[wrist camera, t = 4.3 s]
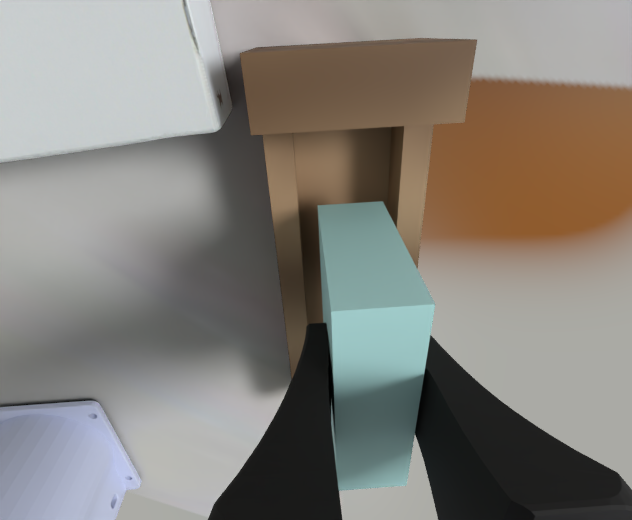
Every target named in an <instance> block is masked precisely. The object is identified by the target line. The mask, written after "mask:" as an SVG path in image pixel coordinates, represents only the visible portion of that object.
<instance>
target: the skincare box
mask: <svg viewBox="0 0 632 520" xmlns="http://www.w3.org/2000/svg"><path fill="white" fill-rule="evenodd" d="M231 110H232V102H231V97H230V92H229V87H228V82H227V78H226V73H225V68H224V63H223V58H222V53H221V49H220V44H219V40H218V35H217V30H216V26H215V21H214V17H213V12H212V8H211V3H210V0H0V163H4V162H11V161H18V160H25V159H33V158H40V157H47V156H54V155H61V154H67V153H75V152H82V151H89V150H95V149H102V148H109V147H115V146H122V145H128V144H135V143H141V142H147V141H153V140H158V139H163V138H170V137H176V136H186V135H196V134H206V133H213V132H216V131H218V130H219V129H221V127H222V126H223V125H224V123H225V122H226V120H227V118H228V116H229V115H230V113H231Z"/></svg>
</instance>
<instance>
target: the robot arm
mask: <svg viewBox="0 0 632 520" xmlns="http://www.w3.org/2000/svg"><path fill="white" fill-rule="evenodd" d="M415 435H416V437H417V440H418V443H419V446H420V449H421V452H422V456H423V459H424V462H425V466H426V470H427V474H428V478H429V482H430V486H431V490H432V494H433V499H434V503H435V507H436V511H437V516H438V520H632V490H631V488H630V487H629V486H628V485H627V484H626V482H625V481H624V480H623V479H622V478H621V476H620V475H619V474H618V473H617V472H615V471H613V470H611V469H609V468H607V467H606V466H604V465H602V464H600V463H598V462H597V461H594V460H593V459H591V458H589V457H587V456H585V455H583V454H581V453H580V452H578V451H576V450H574V449H573V448H571V447H569V446H567V445H566V444H564V443H563V442H561V441H559V440H557V439H556V438H554V437H553V436H551V435H549V434H548V433H546V432H545V431H543V430H542V429H540V428H538V427H537V426H535V425H534V424H532V423H531V422H529V421H528V420H527V419H525V418H523V417H522V416H521V415H519V414H518V413H516V412H515V411H513V410H512V409H511V408H509V407H508V406H507V405H505V404H504V403H503V402H501V401H500V400H499V399H498V398H496V397H495V396H494V395H492V394H491V393H490V392H489V391H488V390H487V389H485V388H484V387H483V386H482V385H480V384H479V383H478V382H477V381H476V380H475V379H474V378H473V377H472V376H471V375H470V374H468V373H467V372H466V371H465V370H464V369H463V368H462V367H461V366H460V365H459V364H458V363H457V362H456V361H455V360H454V359H453V358H452V357H451V356H450V355H449V354H448V353H447V352H446V351H445V350H444V349H443V348H442V347H441V346H440V345H439V344H438V343H437V341H436V340H435V339H434V338H433V337H432V336H431V335H430V341H429V347H428V353H427V359H426V366H425V372H424V378H423V385H422V391H421V397H420V403H419V410H418V416H417V422H416V429H415ZM140 485H141V479H140V477H139V475H138V473H137V472H136V470H135V468H134V466H133V464H132V462H131V460H130V459H129V457H128V455H127V453H126V451H125V449H124V448H123V446H122V444H121V442H120V440H119V438H118V437H117V435H116V433H115V431H114V429H113V427H112V425H111V424H110V422H109V420H108V418H107V416H106V414H105V413H104V411H103V409H102V407H101V405H100V404H99V403H98V402H96V401H77V402H63V403H50V404H36V405H23V406H9V407H0V520H116V517H117V514H118V511H119V509H120V506H121V503H122V501H123V498H124V495H125V493H126V490H130V489H137V488H139V487H140ZM208 520H342V514H341V505H340V497H339V489H338V480H337V471H336V462H335V453H334V444H333V435H332V426H331V381H330V356H329V339H328V331H327V324H326V323H312V324H309V325H307V326H306V335H305V341H304V345H303V349H302V352H301V356H300V359H299V362H298V365H297V368H296V370H295V373H294V376H293V378H292V380H291V383H290V385H289V388H288V390H287V392H286V395H285V397H284V399H283V401H282V403H281V405H280V407H279V409H278V411H277V413H276V415H275V417H274V418H273V420H272V422H271V424H270V425H269V427H268V429H267V431H266V432H265V434H264V436H263V437H262V439H261V441H260V442H259V444H258V445H257V447H256V448H255V450H254V451H253V453H252V454H251V456H250V457H249V459H248V460H247V462H246V463H245V464H244V466H243V467H242V469H241V470H240V472H239V473H238V474H237V476H236V477H235V478H234V479H233V481H232V482H231V483H230V485H229V486H228V487H227V488H226V490H225V491H224V492H223V493H222V495H221V496H220V497H219V498H218V500H217V501H216V502H215V504H214V506H213V508H212V511H211V513H210V516H209V518H208Z"/></svg>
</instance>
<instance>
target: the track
mask: <svg viewBox="0 0 632 520" xmlns="http://www.w3.org/2000/svg"><path fill="white" fill-rule="evenodd" d="M476 43H477V40H470V39H431V38H415V39H397V40H379V41H362V42H344V43H327V44H309V45H291V46H274V47H257V48H254V49H251V50H248V51H245V52H242V53H240V59H241V66H242V74H243V81H244V88H245V96H246V103H247V110H248V118H249V125H250V133H251V135H262V136H263V144H264V152H265V161H266V169H267V177H268V186H269V194H270V202H271V211H272V219H273V227H274V236H275V244H276V252H277V261H278V269H279V277H280V286H281V294H282V302H283V311H284V319H285V327H286V336H287V344H288V352H289V361H290V369H291V377H292V378H293V376H294V373H295V370H296V368H297V365H298V362H299V359H300V356H301V352H302V349H303V345H304V341H305V335H306V326H307V325H309V324H312V323H323V307H322V287H321V266H320V245H319V225H318V205H331V204H347V203H362V202H378V201H383V203H384V205H385V207H386V209H387V211H388V213H389V215H390V216H391V218H392V220H393V222H394V224H395V226H396V228H397V230H398V232H399V234H400V236H401V238H402V240H403V242H404V244H405V246H406V248H407V250H408V252H409V254H410V256H411V258H412V260H413V262H414V264H415V265H416V267H418V258H419V249H420V240H421V231H422V222H423V213H424V205H425V196H426V187H427V178H428V170H429V161H430V152H431V143H432V134H433V125H434V124H444V123H462V122H464V121H465V115H466V108H467V102H468V95H469V88H470V82H471V76H472V69H473V63H474V56H475V50H476Z"/></svg>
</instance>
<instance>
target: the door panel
mask: <svg viewBox="0 0 632 520" xmlns="http://www.w3.org/2000/svg"><path fill="white" fill-rule="evenodd" d="M318 225H319V245H320V266H321V287H322V307H323V323H326V324H327V331H328V339H329V356H330V381H331V426H332V435H333V444H334V453H335V462H336V471H337V480H338V489H339V491H340V490H354V489H366V488H379V487H393V486H406V485H407V479H408V473H409V466H410V460H411V454H412V447H413V441H414V435H415V429H416V422H417V416H418V410H419V403H420V397H421V391H422V385H423V378H424V372H425V366H426V359H427V353H428V347H429V341H430V334H431V328H432V322H433V315H434V309H435V303H434V301H433V299H432V297H431V295H430V293H429V291H428V289H427V287H426V285H425V283H424V281H423V279H422V277H421V275H420V273H419V271H418V269H417V267H416V265H415V264H414V262H413V260H412V258H411V256H410V254H409V252H408V250H407V248H406V246H405V244H404V242H403V240H402V238H401V236H400V234H399V232H398V230H397V228H396V226H395V224H394V222H393V220H392V218H391V216H390V215H389V213H388V211H387V209H386V207H385V205H384V203H383V201H378V202H362V203H347V204H331V205H318Z"/></svg>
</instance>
